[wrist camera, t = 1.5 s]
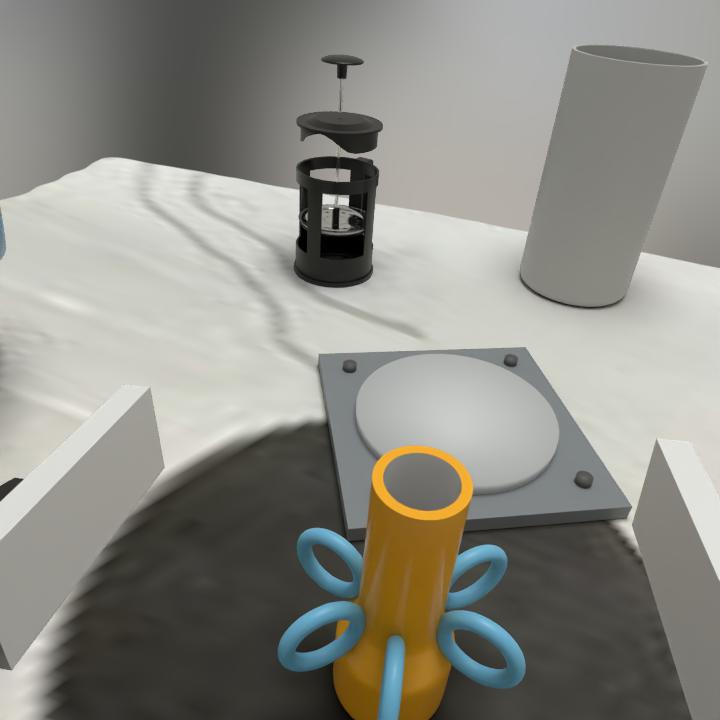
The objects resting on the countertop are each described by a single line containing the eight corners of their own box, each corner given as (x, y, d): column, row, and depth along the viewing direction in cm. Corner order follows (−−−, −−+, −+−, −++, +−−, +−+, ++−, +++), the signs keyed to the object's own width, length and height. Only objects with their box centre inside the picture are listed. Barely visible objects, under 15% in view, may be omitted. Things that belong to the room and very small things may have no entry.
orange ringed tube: (434, 563, 39) (475, 374, 30) (539, 722, 31) (633, 530, 22) (249, 634, 34) (234, 434, 25) (319, 841, 26) (331, 656, 18)
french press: (343, 298, 66) (355, 69, 53) (274, 274, 70) (270, 54, 57) (393, 261, 75) (414, 56, 62) (329, 241, 79) (337, 44, 65)
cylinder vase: (646, 294, 72) (734, 63, 58) (578, 320, 66) (658, 69, 51) (564, 253, 80) (622, 43, 66) (497, 273, 74) (546, 45, 60)
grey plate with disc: (347, 541, 40) (348, 518, 38) (318, 364, 56) (318, 344, 54) (626, 517, 43) (636, 496, 41) (522, 357, 59) (527, 338, 58)
